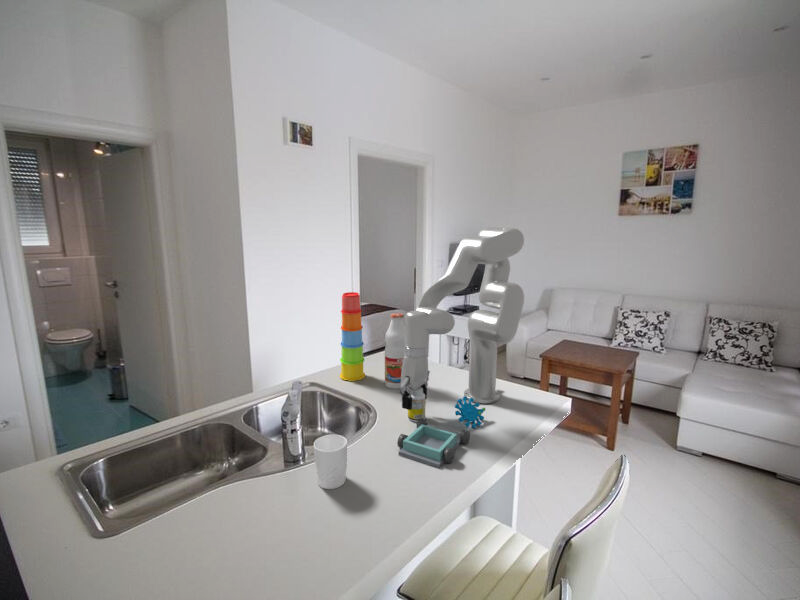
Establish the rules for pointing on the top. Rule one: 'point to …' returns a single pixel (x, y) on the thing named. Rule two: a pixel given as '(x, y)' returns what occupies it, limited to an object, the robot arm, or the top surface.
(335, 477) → the white cup
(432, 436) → the chassis
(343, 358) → the stacking cups
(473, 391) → the robot arm
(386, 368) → the fruit juice
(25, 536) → the top surface
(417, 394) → the supplement bottle
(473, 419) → the gear
